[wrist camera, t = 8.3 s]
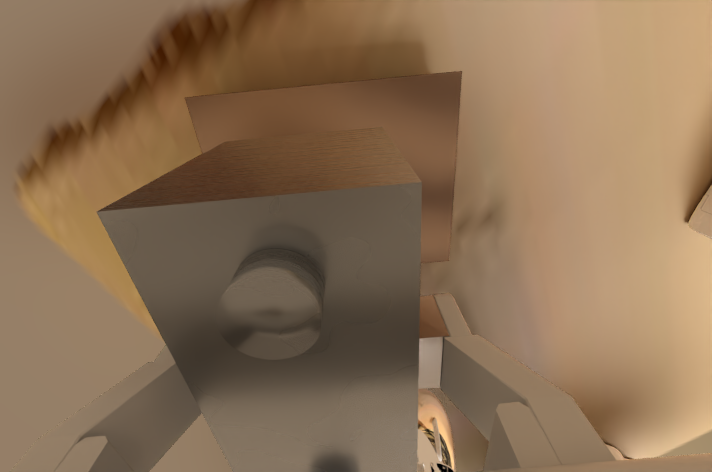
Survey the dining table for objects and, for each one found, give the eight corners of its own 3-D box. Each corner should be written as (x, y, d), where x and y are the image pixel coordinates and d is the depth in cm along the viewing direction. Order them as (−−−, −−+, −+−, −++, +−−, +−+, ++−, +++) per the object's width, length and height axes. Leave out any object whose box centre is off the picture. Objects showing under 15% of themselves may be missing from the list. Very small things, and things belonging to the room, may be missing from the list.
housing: (382, 126, 8) (437, 205, 3) (392, 369, 13) (422, 558, 8) (225, 141, 9) (44, 239, 3) (291, 378, 13) (256, 570, 8)
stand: (434, 235, 25) (448, 260, 22) (256, 250, 26) (242, 278, 22) (441, 72, 20) (461, 71, 16) (213, 94, 20) (185, 97, 17)
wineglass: (433, 326, 30) (479, 462, 20) (412, 365, 33) (444, 504, 22) (377, 315, 29) (395, 451, 19) (361, 356, 32) (368, 496, 21)
